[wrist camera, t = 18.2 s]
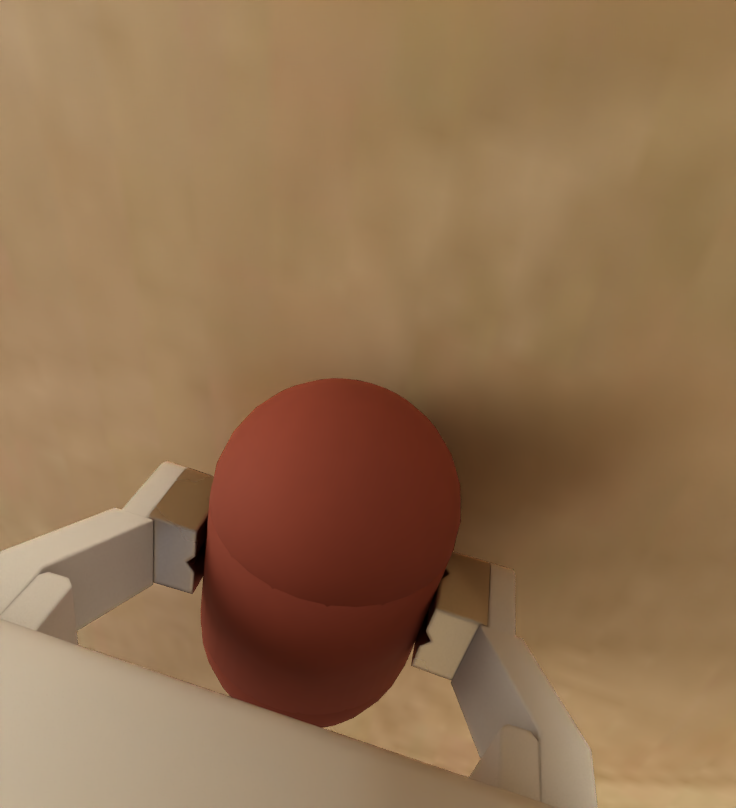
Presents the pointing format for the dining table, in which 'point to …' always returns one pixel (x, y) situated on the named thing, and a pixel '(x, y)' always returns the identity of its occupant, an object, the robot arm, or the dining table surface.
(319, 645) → the sausage
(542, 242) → the dining table surface
